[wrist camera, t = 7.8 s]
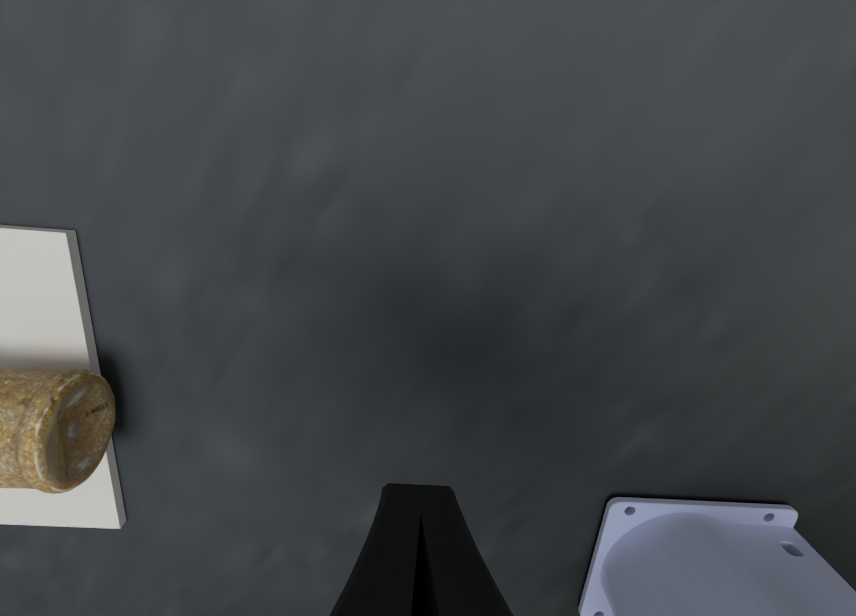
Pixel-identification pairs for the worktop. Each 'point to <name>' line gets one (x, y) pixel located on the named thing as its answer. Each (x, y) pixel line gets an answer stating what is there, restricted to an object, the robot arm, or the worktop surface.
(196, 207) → the worktop surface
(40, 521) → the mat
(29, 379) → the sprinkles bottle
